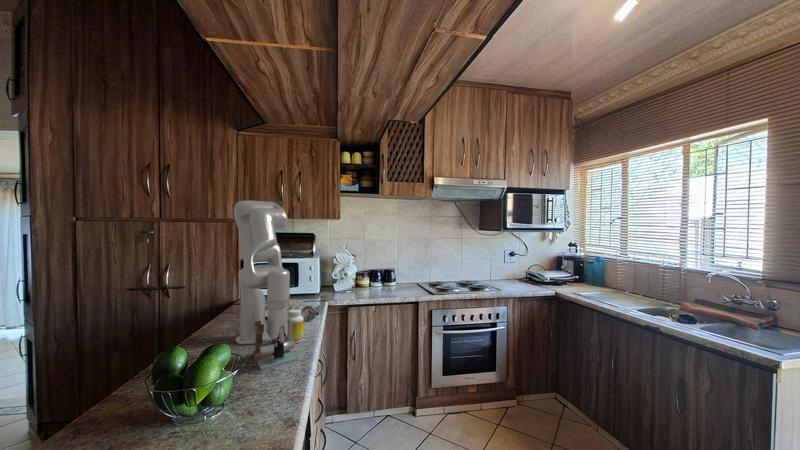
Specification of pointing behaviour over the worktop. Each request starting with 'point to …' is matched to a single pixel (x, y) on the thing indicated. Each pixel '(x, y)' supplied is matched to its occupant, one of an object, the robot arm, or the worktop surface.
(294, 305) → the newspaper
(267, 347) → the steel rail
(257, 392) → the worktop surface
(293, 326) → the supplement bottle
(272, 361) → the rubber mat
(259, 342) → the walnut rack
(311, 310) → the spaceship
